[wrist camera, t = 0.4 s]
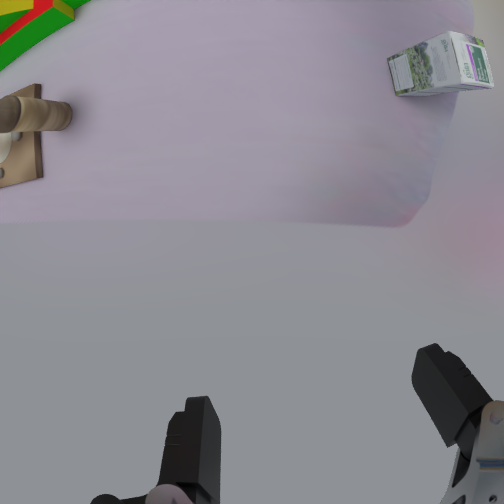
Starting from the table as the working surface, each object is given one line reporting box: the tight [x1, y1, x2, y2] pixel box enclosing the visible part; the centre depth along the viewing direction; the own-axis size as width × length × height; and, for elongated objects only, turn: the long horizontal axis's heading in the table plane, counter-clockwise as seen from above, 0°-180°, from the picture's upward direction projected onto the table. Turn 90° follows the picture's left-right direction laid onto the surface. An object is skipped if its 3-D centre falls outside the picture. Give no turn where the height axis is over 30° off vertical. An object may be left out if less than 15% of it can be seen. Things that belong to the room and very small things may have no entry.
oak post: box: [0, 95, 72, 133], centre depth 24 cm, size 4×4×12 cm
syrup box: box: [387, 31, 494, 96], centre depth 23 cm, size 6×6×14 cm
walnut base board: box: [0, 84, 43, 188], centre depth 28 cm, size 14×16×3 cm
